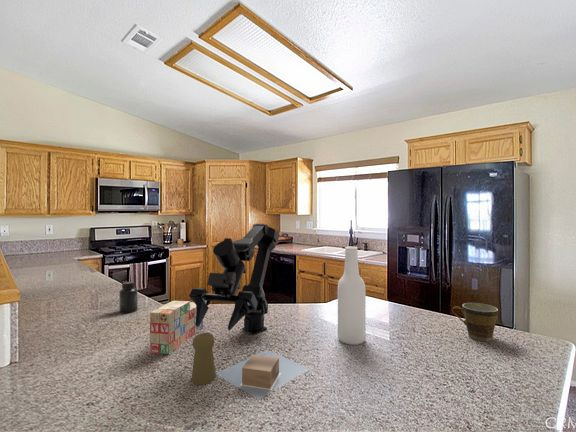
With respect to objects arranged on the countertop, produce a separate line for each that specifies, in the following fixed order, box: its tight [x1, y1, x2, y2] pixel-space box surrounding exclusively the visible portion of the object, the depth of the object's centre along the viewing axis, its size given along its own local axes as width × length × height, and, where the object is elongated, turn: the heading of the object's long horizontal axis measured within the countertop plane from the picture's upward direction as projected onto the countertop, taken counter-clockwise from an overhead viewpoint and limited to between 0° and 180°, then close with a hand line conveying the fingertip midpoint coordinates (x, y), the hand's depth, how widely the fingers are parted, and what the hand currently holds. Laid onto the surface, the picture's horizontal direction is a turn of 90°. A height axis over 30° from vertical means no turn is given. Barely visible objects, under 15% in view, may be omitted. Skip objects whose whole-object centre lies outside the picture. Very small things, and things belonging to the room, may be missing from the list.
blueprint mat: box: [216, 349, 310, 400], centre depth 79 cm, size 18×16×1 cm
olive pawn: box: [190, 332, 217, 386], centre depth 76 cm, size 6×6×11 cm
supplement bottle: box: [118, 281, 139, 314], centre depth 130 cm, size 7×7×12 cm
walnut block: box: [242, 354, 279, 389], centre depth 75 cm, size 7×7×4 cm
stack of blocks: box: [149, 300, 204, 355], centre depth 100 cm, size 21×6×12 cm, turn 169°
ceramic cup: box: [451, 302, 499, 343], centre depth 101 cm, size 13×10×10 cm
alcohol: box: [337, 245, 367, 346], centre depth 99 cm, size 9×9×30 cm
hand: (212, 327), depth 80 cm, fingers open, 9 cm apart
